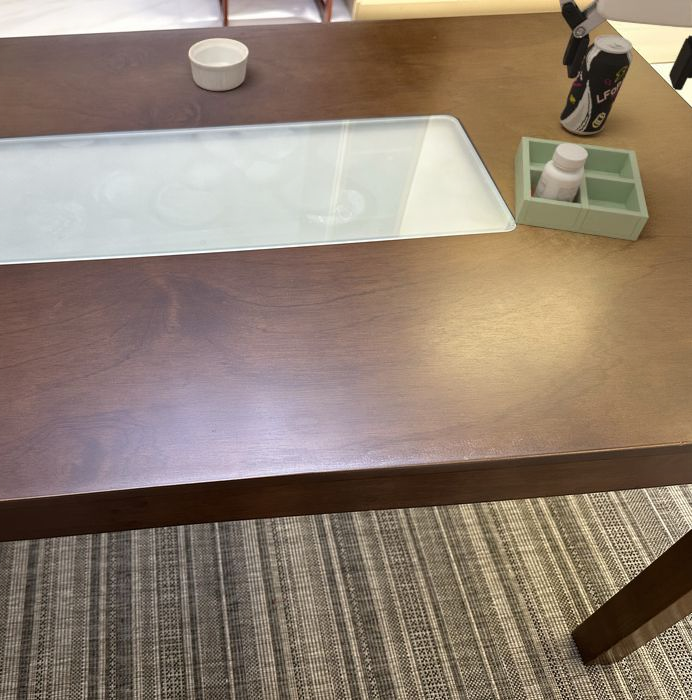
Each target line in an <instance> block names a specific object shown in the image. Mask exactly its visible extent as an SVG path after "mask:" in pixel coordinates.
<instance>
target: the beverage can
mask: <svg viewBox="0 0 692 700" xmlns="http://www.w3.org/2000/svg"><path fill="white" fill-rule="evenodd" d="M632 49H633V43H632V42H631V41H630V40H629V39H627V38H625V37H623V36H619V35H615V34H602V35H598V36H597V37H595V38H594V41H593V42H592V44H589V45H588V48H587V51H586V53H585V56H584V59H583V61H582V64H581V67H580V70H579V72H578V75H577V77H576V78H574V79H573V82H572V84H571V87H570V90H569V93H568V95H567V98H566V100H565V103H564V106H563V108H562V111H561V113H560V116H559V122H560V124H561V125H562V127H564V128H565V130H567V131H568V132H570V133H572V134H575V135H580V136H588V135H593V134H597V133H599V132H601V131H602V130H603V128H604V127H605V124H606V121H607V119H608V118H609V115H610V113H611V110H612V108H613V106H614V103H615V101H616V99H617V97H618V94H619V92H620V90H621V87H622V85H623V82H624V80H625V78H626V76H627V73H628V72H629V69H630V67H631V64H632V61H633V53H632Z"/></svg>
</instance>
